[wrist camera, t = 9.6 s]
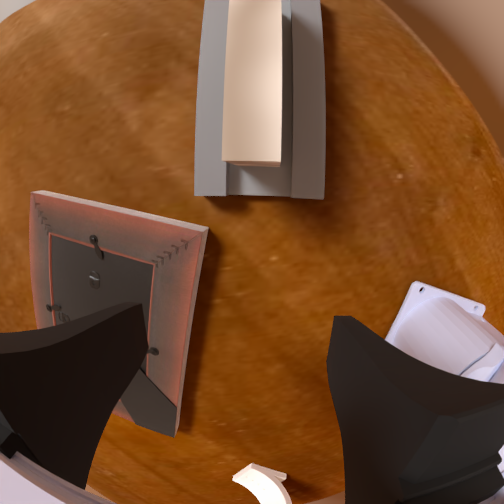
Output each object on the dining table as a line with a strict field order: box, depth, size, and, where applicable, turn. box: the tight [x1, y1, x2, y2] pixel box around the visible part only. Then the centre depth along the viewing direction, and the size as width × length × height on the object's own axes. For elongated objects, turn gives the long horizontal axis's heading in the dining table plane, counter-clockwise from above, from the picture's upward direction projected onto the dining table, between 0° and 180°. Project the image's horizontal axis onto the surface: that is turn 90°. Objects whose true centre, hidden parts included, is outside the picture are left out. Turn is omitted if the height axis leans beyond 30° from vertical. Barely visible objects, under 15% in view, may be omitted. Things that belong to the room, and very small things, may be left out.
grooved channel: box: [194, 0, 326, 200], centre depth 16 cm, size 8×16×2 cm, turn 179°
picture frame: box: [29, 190, 209, 437], centre depth 22 cm, size 16×2×22 cm
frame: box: [222, 0, 282, 167], centre depth 14 cm, size 3×12×6 cm, turn 179°
